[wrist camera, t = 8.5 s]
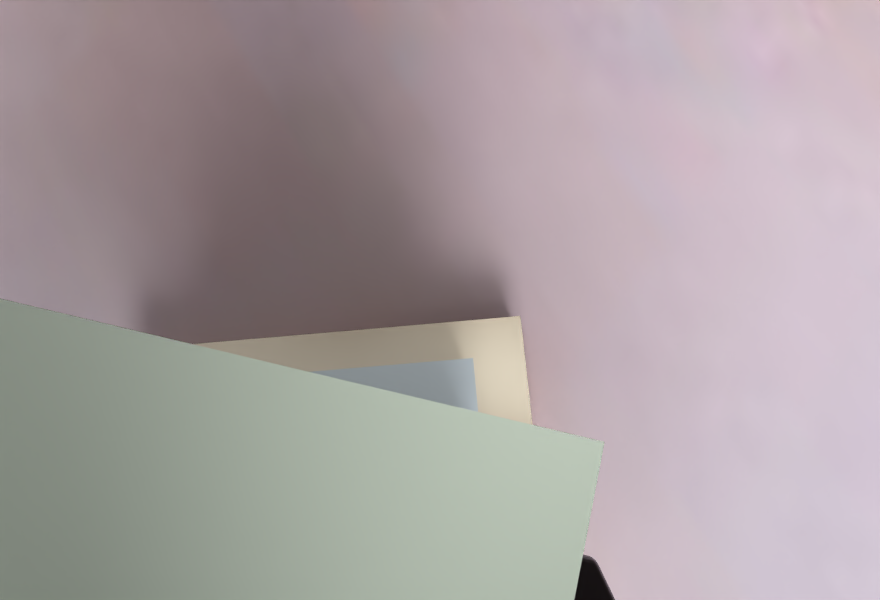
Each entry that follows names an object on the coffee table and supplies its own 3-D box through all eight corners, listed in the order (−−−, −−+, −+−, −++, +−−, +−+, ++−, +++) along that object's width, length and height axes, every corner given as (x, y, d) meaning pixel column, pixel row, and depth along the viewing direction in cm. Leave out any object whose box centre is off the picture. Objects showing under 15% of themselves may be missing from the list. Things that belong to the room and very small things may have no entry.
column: (420, 688, 17) (459, 1201, 5) (186, 633, 17) (-287, 1023, 5) (472, 450, 18) (604, 442, 6) (251, 397, 18) (-31, 290, 6)
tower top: (492, 661, 20) (504, 690, 17) (196, 691, 19) (164, 726, 17) (465, 368, 21) (473, 358, 18) (186, 392, 21) (156, 384, 18)
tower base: (549, 702, 22) (566, 733, 19) (168, 743, 21) (136, 781, 19) (509, 330, 24) (520, 315, 21) (157, 361, 23) (127, 349, 21)
